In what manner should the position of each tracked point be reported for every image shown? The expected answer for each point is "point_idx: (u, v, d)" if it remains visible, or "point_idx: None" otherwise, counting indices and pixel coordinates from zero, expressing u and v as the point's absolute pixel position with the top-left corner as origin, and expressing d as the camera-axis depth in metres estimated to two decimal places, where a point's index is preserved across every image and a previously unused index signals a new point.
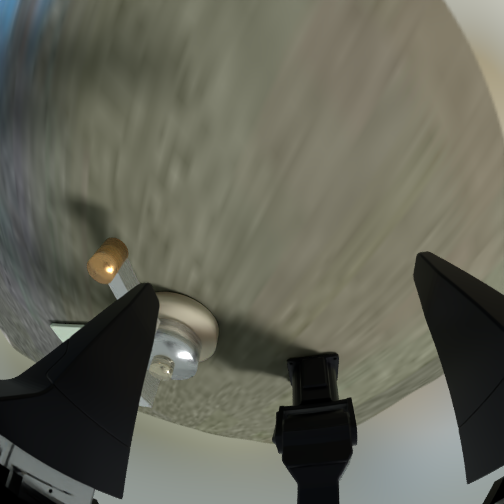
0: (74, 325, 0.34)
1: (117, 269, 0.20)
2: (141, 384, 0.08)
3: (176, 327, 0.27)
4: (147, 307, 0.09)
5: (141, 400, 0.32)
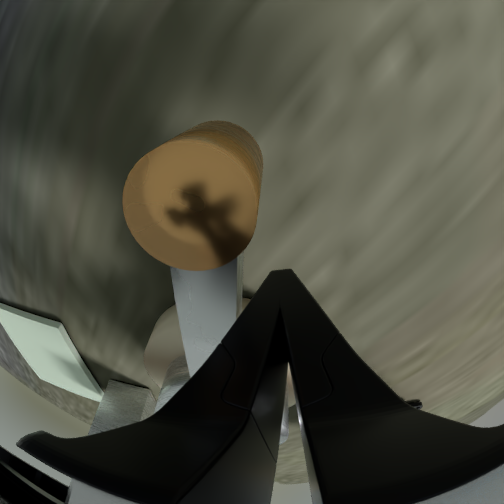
0: (27, 314, 0.17)
1: None
2: (285, 386, 0.07)
3: None
4: None
5: None
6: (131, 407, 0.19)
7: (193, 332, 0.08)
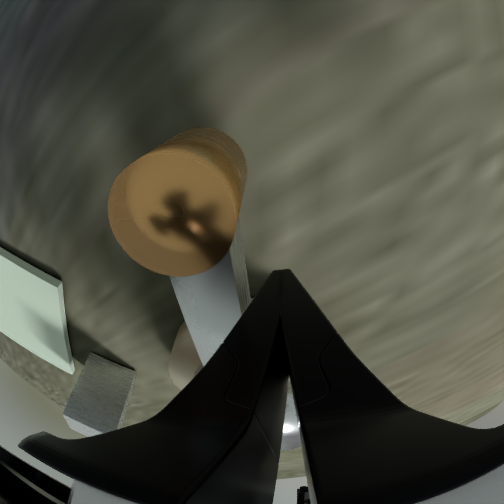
0: (16, 259, 0.14)
1: None
2: (287, 386, 0.07)
3: None
4: None
5: None
6: (114, 388, 0.17)
7: (204, 337, 0.08)
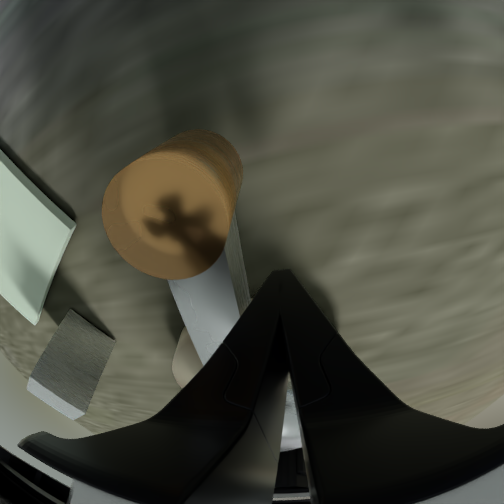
0: (25, 180, 0.11)
1: None
2: (287, 386, 0.07)
3: None
4: None
5: (69, 411, 0.13)
6: (91, 356, 0.15)
7: (203, 339, 0.08)
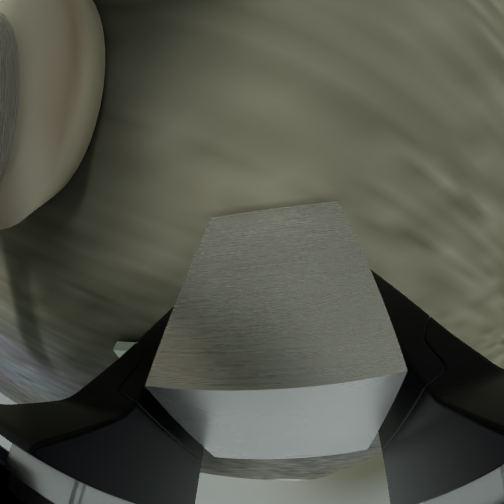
0: None
1: None
2: None
3: None
4: None
5: (280, 408, 0.04)
6: None
7: None
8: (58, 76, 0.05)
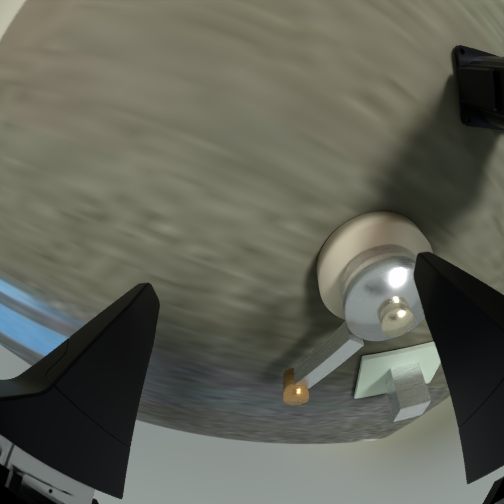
0: (358, 375, 0.31)
1: (289, 387, 0.24)
2: (142, 383, 0.08)
3: None
4: (147, 307, 0.09)
5: (415, 407, 0.25)
6: (392, 386, 0.28)
7: (327, 371, 0.22)
8: None
